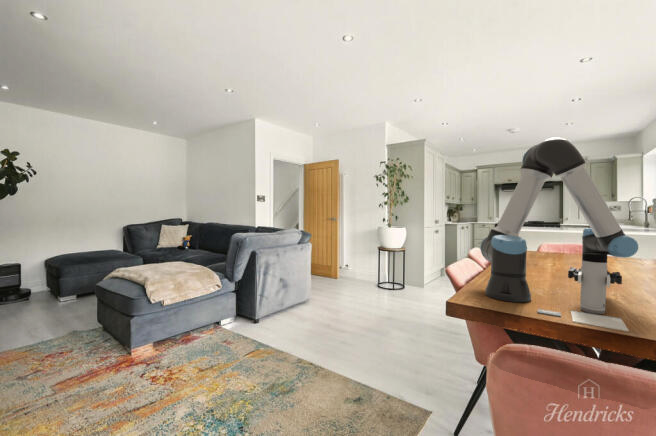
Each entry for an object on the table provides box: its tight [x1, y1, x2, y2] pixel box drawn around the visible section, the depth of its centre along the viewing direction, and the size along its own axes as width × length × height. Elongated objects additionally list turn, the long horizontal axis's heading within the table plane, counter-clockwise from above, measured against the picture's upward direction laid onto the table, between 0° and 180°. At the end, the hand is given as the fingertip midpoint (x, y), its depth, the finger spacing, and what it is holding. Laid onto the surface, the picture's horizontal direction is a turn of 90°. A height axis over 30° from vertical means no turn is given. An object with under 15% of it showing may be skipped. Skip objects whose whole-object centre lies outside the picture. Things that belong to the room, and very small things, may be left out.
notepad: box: [570, 310, 630, 332], centre depth 91 cm, size 12×12×1 cm
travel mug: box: [579, 251, 608, 315], centre depth 100 cm, size 6×7×20 cm
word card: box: [537, 308, 562, 318], centre depth 97 cm, size 6×4×1 cm, turn 53°
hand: (593, 280), depth 96 cm, fingers closed on travel mug, 6 cm apart
